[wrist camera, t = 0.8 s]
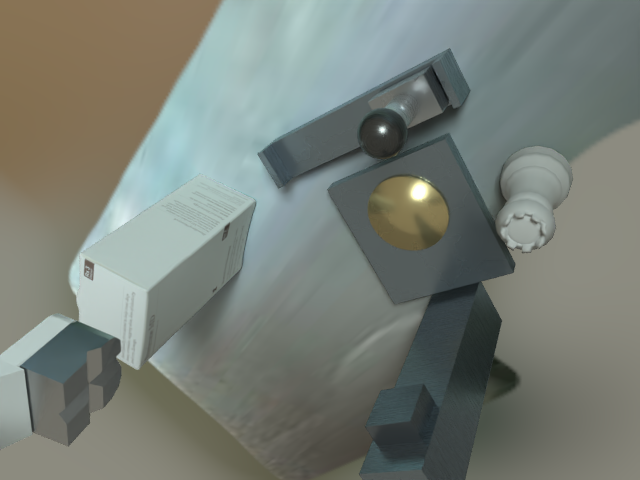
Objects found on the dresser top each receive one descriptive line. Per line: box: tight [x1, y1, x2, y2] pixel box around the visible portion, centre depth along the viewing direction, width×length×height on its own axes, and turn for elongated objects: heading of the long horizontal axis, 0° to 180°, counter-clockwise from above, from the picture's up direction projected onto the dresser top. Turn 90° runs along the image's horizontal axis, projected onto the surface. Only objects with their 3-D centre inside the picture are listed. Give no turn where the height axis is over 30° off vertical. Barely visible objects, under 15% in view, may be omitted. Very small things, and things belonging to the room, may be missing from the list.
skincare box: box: [76, 174, 256, 370], centre depth 46 cm, size 8×6×15 cm
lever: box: [357, 66, 449, 159], centre depth 34 cm, size 4×3×8 cm
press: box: [258, 48, 515, 480], centre depth 37 cm, size 15×20×18 cm
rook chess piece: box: [495, 146, 573, 253], centre depth 36 cm, size 4×4×8 cm
